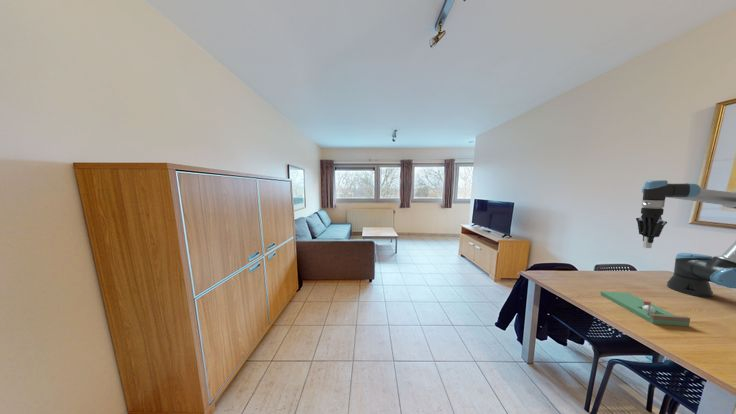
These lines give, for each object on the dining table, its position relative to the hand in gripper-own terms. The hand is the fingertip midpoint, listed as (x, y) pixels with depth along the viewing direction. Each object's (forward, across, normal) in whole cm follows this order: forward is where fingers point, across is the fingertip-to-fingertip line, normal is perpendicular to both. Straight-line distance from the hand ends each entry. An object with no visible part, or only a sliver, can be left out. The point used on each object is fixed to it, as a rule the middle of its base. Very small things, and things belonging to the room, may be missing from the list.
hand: (647, 247), depth 120 cm
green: (+28, +17, -17) cm, 37 cm away
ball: (+26, +21, -17) cm, 38 cm away
